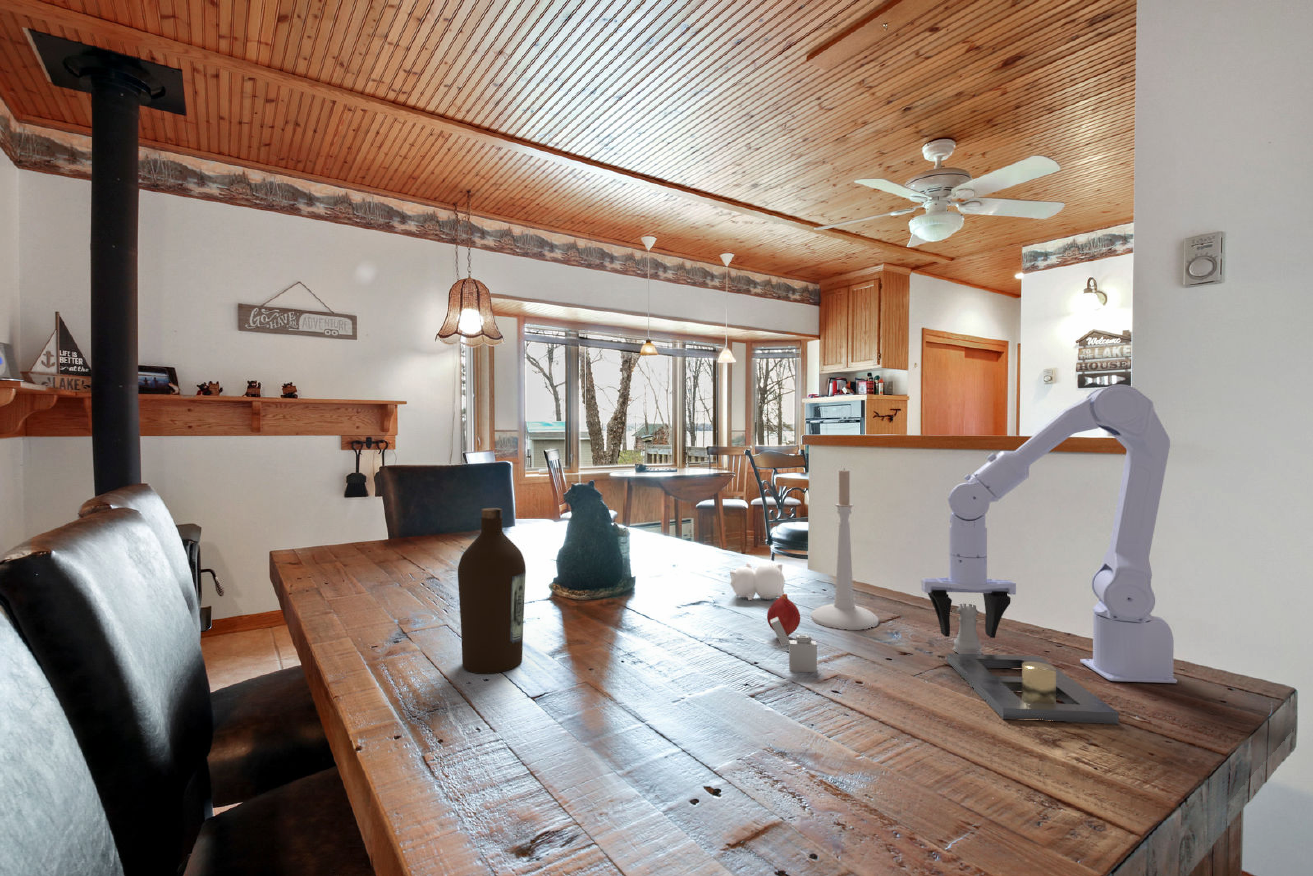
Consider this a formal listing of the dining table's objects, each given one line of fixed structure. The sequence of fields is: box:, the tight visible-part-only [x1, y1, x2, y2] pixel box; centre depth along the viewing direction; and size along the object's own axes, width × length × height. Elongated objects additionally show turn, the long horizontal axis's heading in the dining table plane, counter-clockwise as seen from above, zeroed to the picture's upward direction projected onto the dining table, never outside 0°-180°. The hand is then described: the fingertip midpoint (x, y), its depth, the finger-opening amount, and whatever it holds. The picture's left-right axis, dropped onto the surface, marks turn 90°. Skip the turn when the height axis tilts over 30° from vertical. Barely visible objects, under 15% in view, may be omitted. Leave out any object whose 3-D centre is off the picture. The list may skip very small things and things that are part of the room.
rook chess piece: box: [952, 602, 984, 654], centre depth 105 cm, size 4×4×8 cm
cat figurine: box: [729, 562, 785, 601], centre depth 141 cm, size 9×11×12 cm
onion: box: [766, 593, 801, 638], centre depth 113 cm, size 6×6×8 cm
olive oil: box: [457, 507, 527, 675], centre depth 101 cm, size 11×11×25 cm
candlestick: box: [810, 468, 880, 631], centre depth 124 cm, size 13×13×30 cm
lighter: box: [770, 617, 818, 673], centre depth 99 cm, size 7×2×8 cm, turn 84°
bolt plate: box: [946, 652, 1120, 725], centre depth 90 cm, size 14×20×5 cm
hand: (967, 635), depth 105 cm, fingers open, 7 cm apart
